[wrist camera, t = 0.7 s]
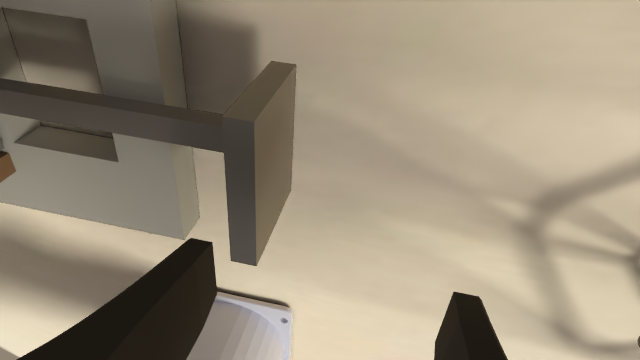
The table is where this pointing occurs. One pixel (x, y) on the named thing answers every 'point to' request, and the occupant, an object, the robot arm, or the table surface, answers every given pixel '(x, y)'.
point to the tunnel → (6, 166)
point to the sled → (196, 140)
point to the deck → (120, 151)
